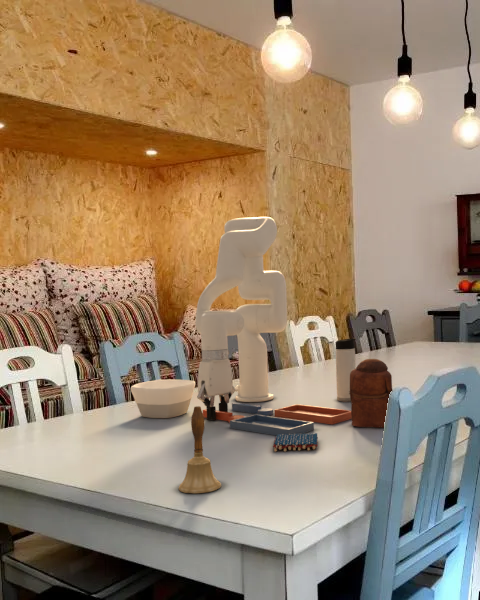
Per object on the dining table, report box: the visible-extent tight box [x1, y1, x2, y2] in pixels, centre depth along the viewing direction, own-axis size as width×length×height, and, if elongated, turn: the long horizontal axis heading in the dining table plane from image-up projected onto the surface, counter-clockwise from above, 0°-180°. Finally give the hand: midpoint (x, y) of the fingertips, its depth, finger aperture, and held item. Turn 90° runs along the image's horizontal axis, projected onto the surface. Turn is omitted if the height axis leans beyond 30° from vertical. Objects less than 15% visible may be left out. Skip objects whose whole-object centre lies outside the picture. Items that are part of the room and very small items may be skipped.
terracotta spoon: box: [202, 408, 246, 424], centre depth 208 cm, size 16×5×2 cm, turn 50°
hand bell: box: [178, 405, 222, 494], centre depth 142 cm, size 8×8×16 cm
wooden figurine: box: [350, 358, 393, 429], centre depth 192 cm, size 12×6×18 cm, turn 75°
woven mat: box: [272, 432, 319, 452], centre depth 173 cm, size 10×11×2 cm
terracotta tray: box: [273, 403, 352, 425], centre depth 207 cm, size 21×10×2 cm, turn 50°
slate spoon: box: [231, 402, 274, 416], centre depth 217 cm, size 16×5×2 cm, turn 50°
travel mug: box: [335, 337, 357, 403], centre depth 232 cm, size 6×7×20 cm
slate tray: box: [229, 413, 315, 437], centre depth 193 cm, size 21×10×2 cm, turn 50°
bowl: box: [130, 379, 196, 419], centre depth 219 cm, size 18×18×9 cm
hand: (217, 417), depth 210 cm, fingers open, 4 cm apart
